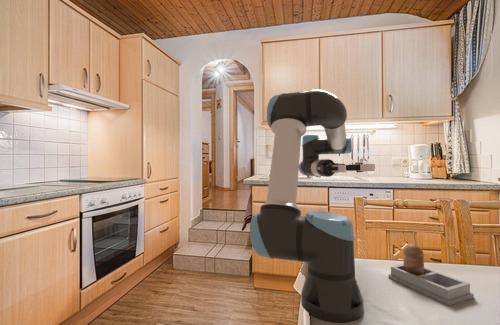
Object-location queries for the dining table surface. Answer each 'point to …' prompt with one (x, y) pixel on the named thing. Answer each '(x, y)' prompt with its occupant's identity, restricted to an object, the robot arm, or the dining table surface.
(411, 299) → the dining table surface
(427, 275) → the two-compartment grey tray
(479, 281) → the dining table surface
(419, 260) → the wooden dome-top peg
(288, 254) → the robot arm
